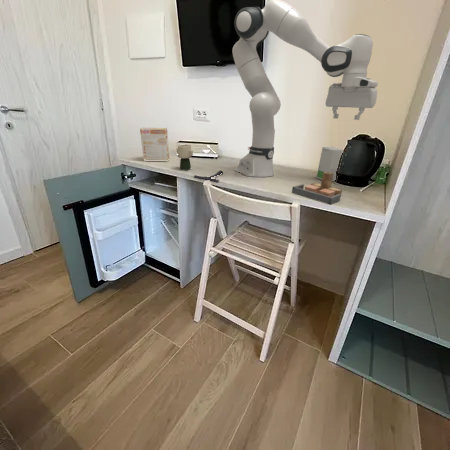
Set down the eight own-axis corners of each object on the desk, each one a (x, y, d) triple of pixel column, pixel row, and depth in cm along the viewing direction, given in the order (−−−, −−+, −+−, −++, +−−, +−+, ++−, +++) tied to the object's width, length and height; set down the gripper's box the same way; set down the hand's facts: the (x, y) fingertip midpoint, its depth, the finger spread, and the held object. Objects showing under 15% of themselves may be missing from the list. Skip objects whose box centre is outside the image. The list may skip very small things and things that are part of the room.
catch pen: (291, 192, 112) (292, 187, 111) (301, 189, 116) (302, 184, 115) (330, 204, 100) (331, 198, 98) (339, 200, 104) (340, 194, 103)
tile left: (304, 193, 112) (305, 186, 111) (309, 191, 115) (310, 184, 113) (313, 196, 109) (314, 189, 108) (318, 193, 112) (320, 187, 111)
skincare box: (315, 177, 135) (321, 146, 128) (326, 176, 137) (332, 146, 130) (326, 182, 128) (333, 149, 121) (337, 181, 130) (344, 149, 123)
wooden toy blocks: (309, 190, 116) (312, 170, 112) (313, 189, 117) (316, 169, 114) (336, 198, 107) (341, 176, 103) (340, 196, 109) (345, 175, 105)
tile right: (317, 197, 108) (319, 190, 106) (324, 195, 110) (325, 188, 109) (327, 200, 104) (329, 193, 103) (333, 198, 107) (335, 191, 106)
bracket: (233, 177, 135) (233, 172, 134) (217, 183, 124) (217, 178, 122) (211, 173, 142) (211, 168, 141) (193, 179, 131) (193, 173, 129)
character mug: (197, 169, 146) (196, 145, 140) (189, 172, 140) (188, 147, 135) (181, 166, 151) (180, 143, 145) (173, 169, 145) (172, 145, 140)
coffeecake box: (169, 159, 168) (167, 127, 160) (167, 162, 162) (165, 128, 153) (146, 159, 168) (142, 127, 159) (143, 161, 161) (139, 128, 153)
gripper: (326, 83, 112) (320, 117, 118) (375, 81, 98) (366, 120, 104) (333, 83, 115) (327, 117, 121) (382, 82, 101) (372, 120, 107)
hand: (345, 119), depth 112 cm, fingers open, 8 cm apart
